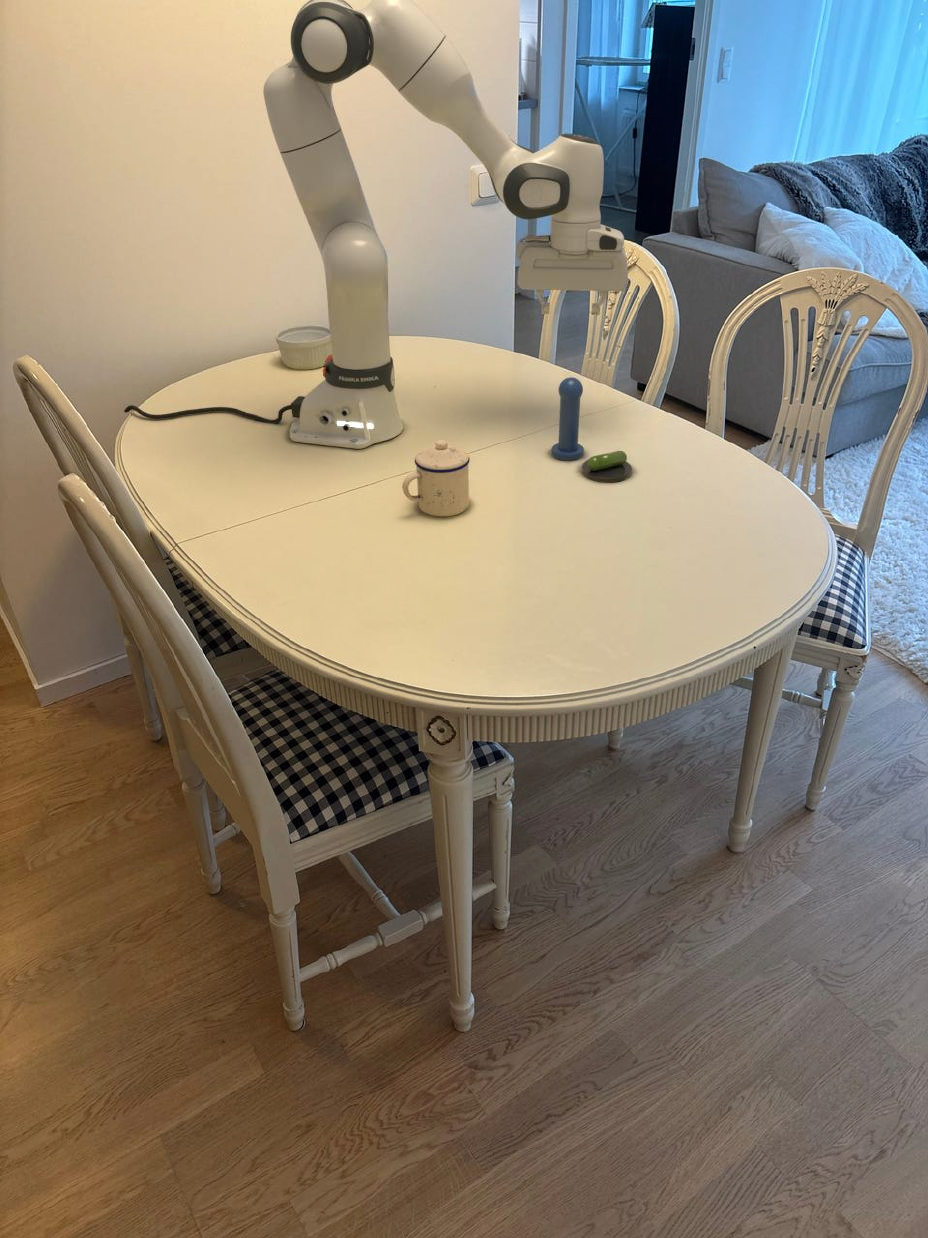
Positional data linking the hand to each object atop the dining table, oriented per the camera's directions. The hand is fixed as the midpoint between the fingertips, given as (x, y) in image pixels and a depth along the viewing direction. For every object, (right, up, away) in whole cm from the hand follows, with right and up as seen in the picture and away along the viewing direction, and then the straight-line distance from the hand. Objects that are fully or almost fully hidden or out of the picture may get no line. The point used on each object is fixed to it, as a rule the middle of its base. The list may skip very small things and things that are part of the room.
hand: (570, 313), depth 172 cm
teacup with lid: (-25, -39, -17) cm, 49 cm away
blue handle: (-1, -26, 0) cm, 27 cm away
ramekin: (-57, +3, +45) cm, 73 cm away
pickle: (+6, -31, -7) cm, 32 cm away
